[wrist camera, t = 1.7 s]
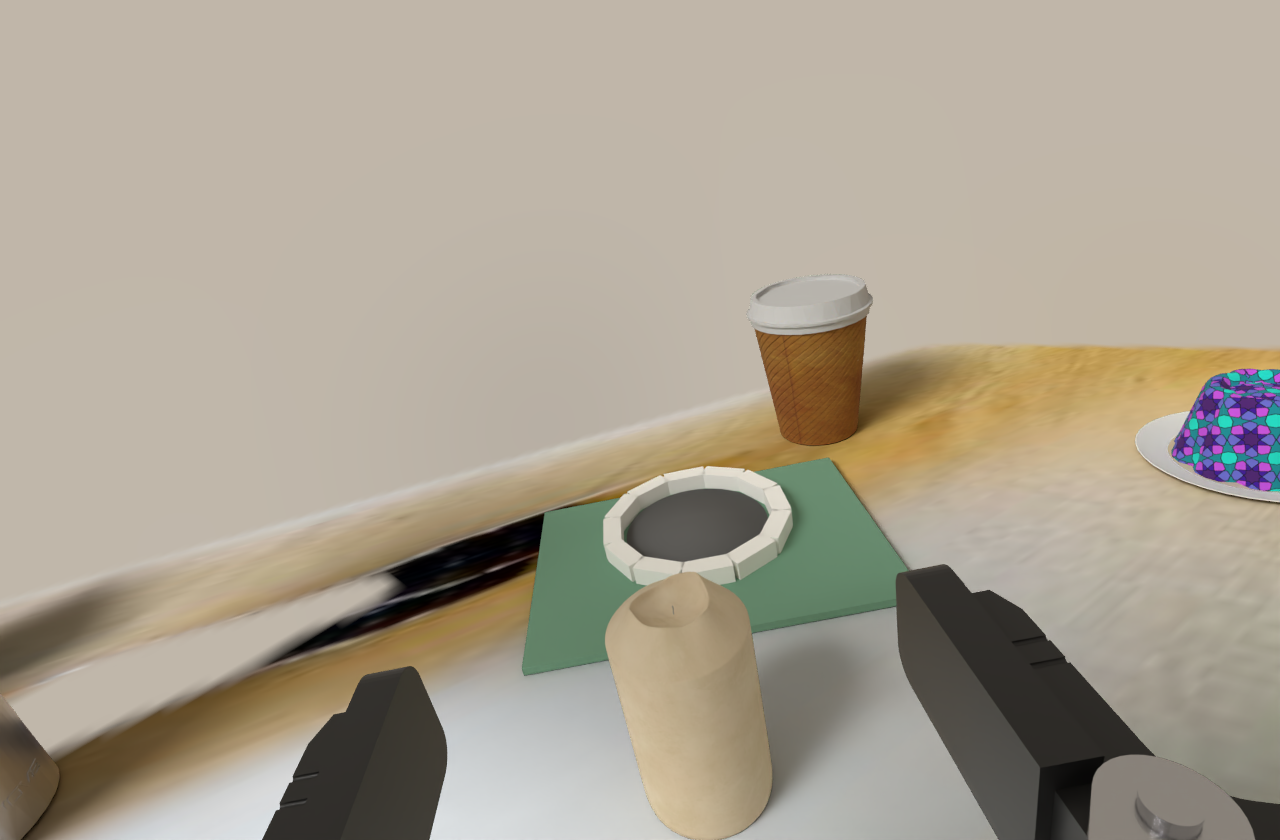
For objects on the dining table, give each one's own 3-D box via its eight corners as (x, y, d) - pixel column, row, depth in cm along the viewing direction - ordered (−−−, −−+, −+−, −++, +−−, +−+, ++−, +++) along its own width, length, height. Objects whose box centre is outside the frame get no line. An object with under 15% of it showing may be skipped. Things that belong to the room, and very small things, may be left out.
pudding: (1302, 411, 45) (1320, 339, 43) (1463, 509, 34) (1497, 419, 32) (1102, 426, 48) (1109, 359, 46) (1193, 520, 37) (1208, 438, 35)
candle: (701, 705, 32) (665, 535, 28) (799, 767, 28) (775, 579, 24) (619, 790, 28) (566, 611, 24) (718, 873, 25) (674, 677, 20)
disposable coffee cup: (827, 395, 61) (817, 267, 56) (904, 427, 53) (900, 280, 48) (740, 429, 58) (721, 297, 53) (807, 468, 50) (793, 316, 45)
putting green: (524, 675, 36) (515, 651, 35) (546, 516, 50) (541, 497, 50) (924, 600, 35) (924, 575, 34) (828, 462, 50) (826, 442, 49)
